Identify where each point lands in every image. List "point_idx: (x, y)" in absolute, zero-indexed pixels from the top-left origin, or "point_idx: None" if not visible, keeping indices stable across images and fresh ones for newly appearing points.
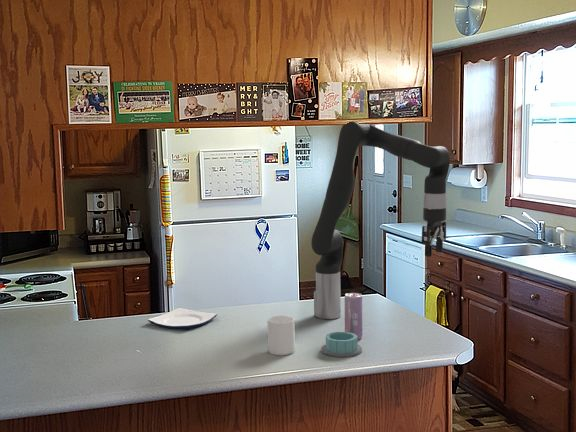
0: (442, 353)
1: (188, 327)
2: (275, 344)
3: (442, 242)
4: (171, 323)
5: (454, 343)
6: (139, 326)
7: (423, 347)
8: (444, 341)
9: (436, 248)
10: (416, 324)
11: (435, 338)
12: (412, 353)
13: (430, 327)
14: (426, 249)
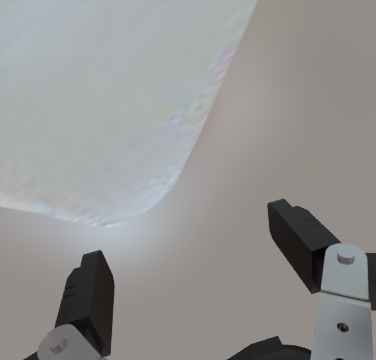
0: (64, 208)
1: None
2: None
3: (317, 286)
4: None
5: (139, 182)
6: None
7: (58, 157)
8: (133, 160)
9: (278, 218)
10: (201, 7)
11: (135, 132)
12: (2, 169)
13: (203, 60)
14: (64, 313)
